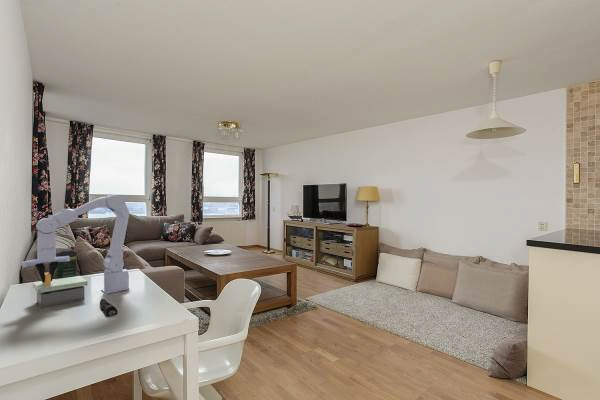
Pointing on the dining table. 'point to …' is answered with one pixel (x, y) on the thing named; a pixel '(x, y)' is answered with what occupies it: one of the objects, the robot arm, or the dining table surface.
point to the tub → (60, 296)
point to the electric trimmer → (108, 308)
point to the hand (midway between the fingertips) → (47, 281)
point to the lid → (58, 283)
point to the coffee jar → (66, 264)
